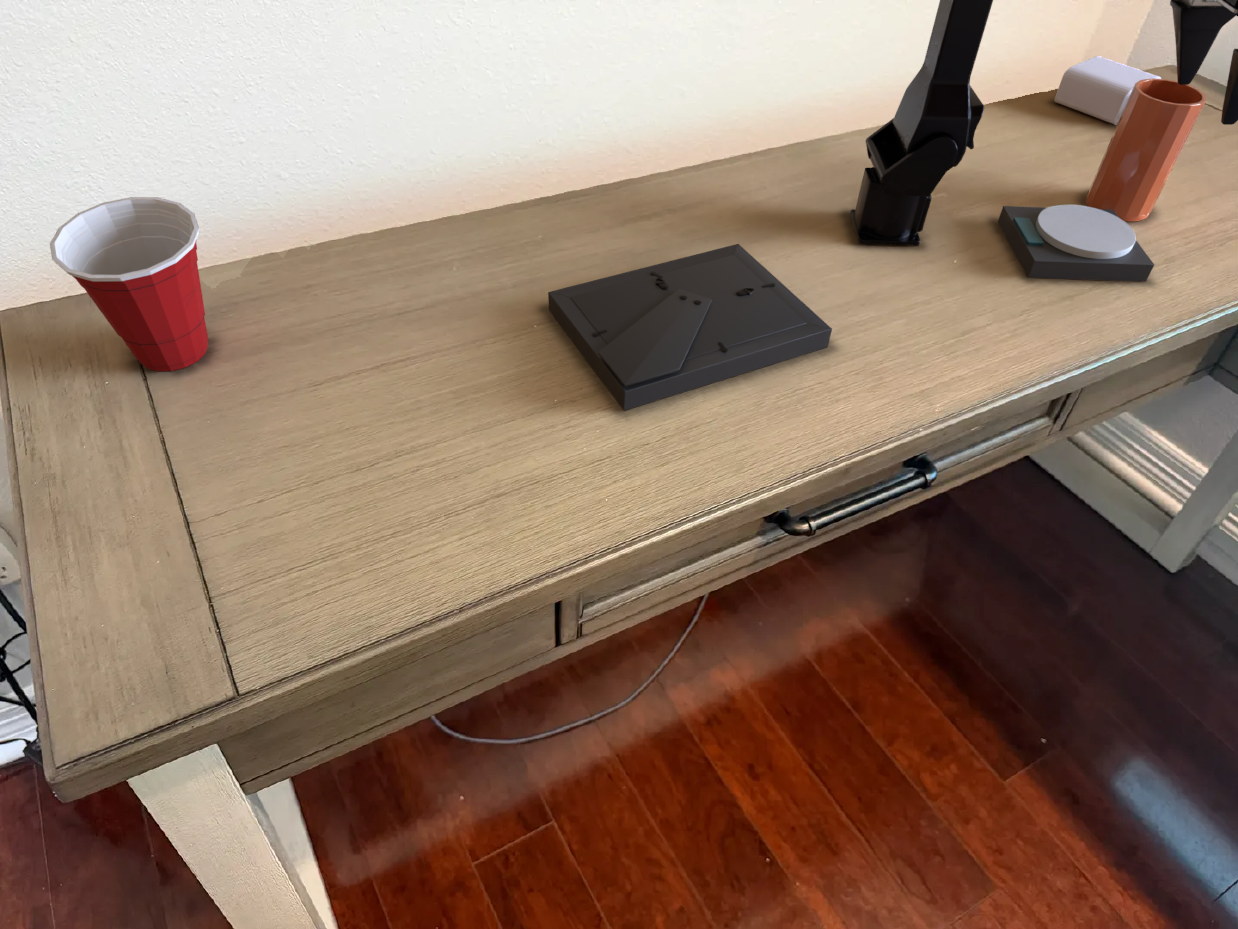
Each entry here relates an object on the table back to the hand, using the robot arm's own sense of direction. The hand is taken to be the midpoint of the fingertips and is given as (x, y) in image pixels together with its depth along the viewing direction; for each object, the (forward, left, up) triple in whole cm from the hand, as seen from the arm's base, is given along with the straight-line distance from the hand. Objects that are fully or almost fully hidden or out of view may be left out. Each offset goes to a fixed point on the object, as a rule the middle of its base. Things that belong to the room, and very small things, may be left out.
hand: (1204, 103), depth 86 cm
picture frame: (-50, -19, -15) cm, 55 cm away
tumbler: (0, +7, -15) cm, 16 cm away
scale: (-9, -3, -15) cm, 17 cm away
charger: (+10, +32, -15) cm, 36 cm away
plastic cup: (-95, -25, -15) cm, 99 cm away
